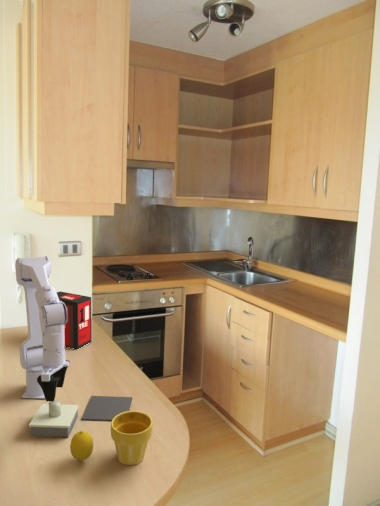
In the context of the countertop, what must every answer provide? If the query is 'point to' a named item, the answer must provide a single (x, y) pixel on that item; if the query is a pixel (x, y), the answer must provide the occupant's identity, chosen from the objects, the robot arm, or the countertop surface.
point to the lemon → (81, 445)
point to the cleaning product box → (76, 319)
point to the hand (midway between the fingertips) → (54, 393)
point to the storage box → (53, 430)
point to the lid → (54, 415)
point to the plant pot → (131, 435)
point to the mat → (106, 407)
